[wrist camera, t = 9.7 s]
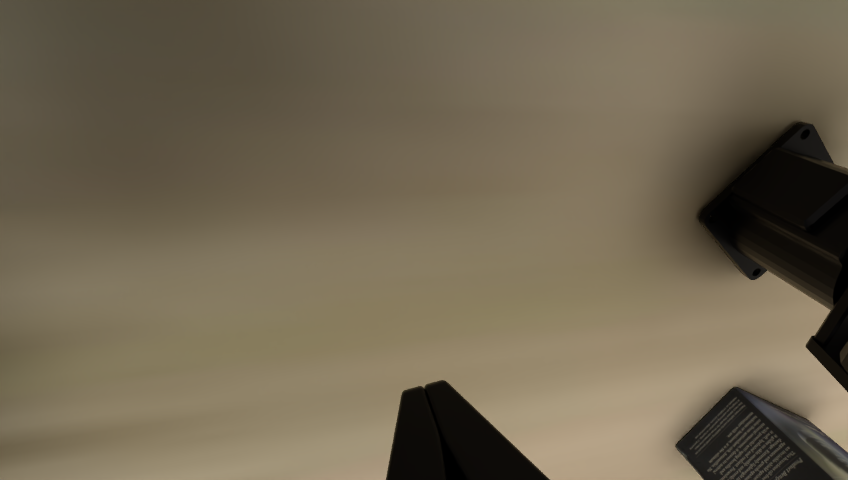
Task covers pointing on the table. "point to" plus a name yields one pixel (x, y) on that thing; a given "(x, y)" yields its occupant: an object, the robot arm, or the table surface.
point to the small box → (760, 444)
